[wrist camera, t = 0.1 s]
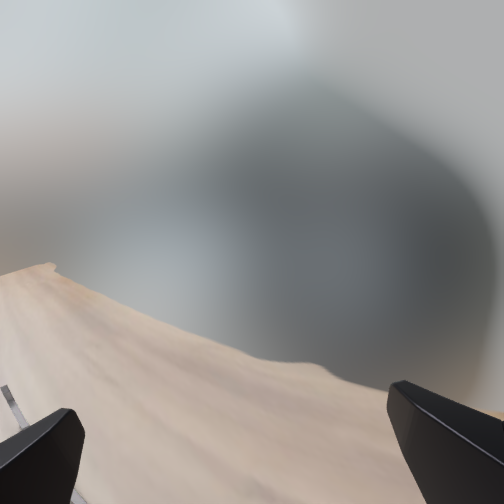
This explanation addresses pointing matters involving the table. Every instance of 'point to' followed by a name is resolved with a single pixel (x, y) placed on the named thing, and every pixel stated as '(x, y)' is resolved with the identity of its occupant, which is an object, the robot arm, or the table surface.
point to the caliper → (75, 497)
